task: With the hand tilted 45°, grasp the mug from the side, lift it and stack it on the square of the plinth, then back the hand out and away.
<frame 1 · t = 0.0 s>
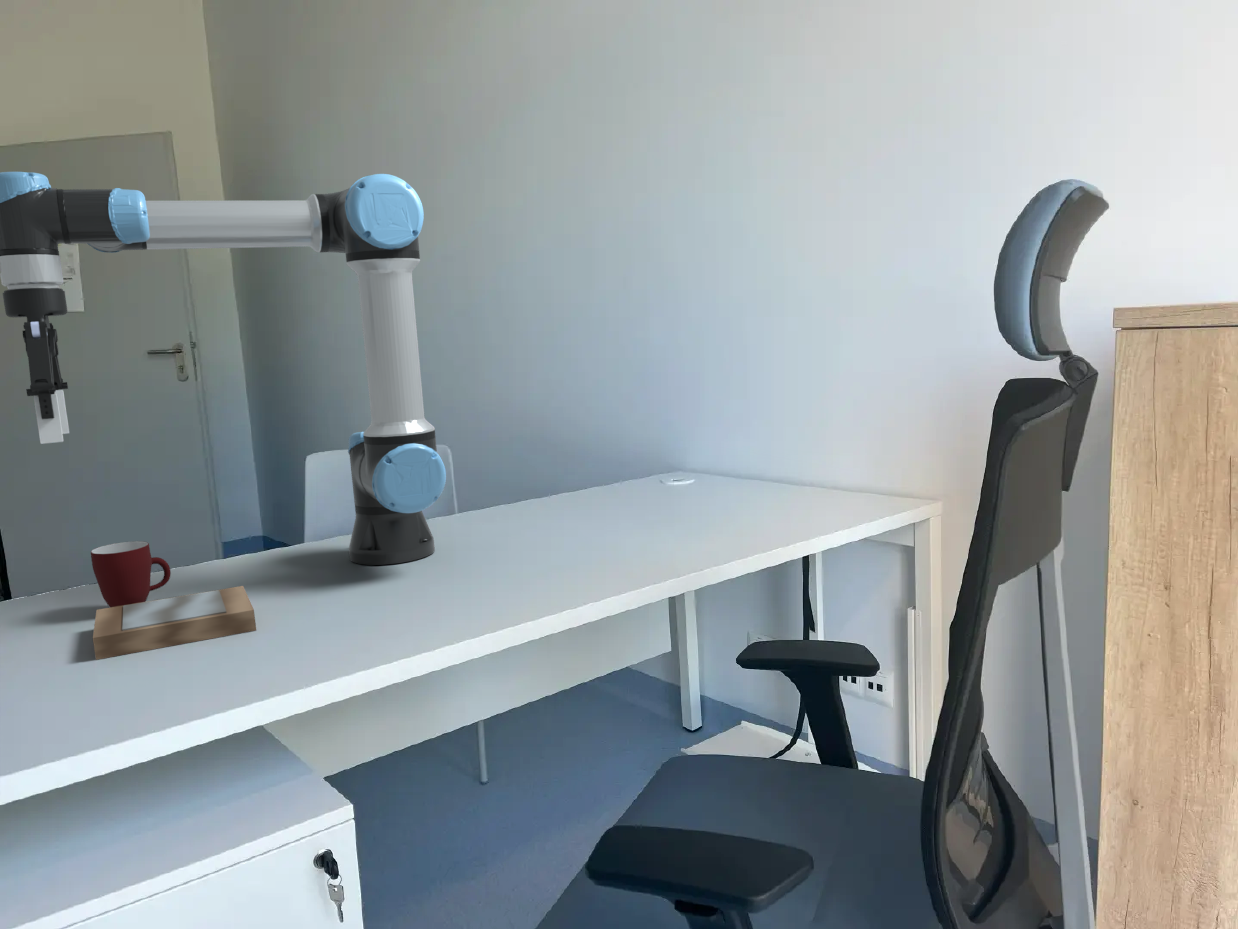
hand: (55, 438, 138), 28 cm above the table, tool pointing down, fingers open, 13 cm apart
mug: (137, 609, 151), on the table
plinth: (176, 630, 138), on the table
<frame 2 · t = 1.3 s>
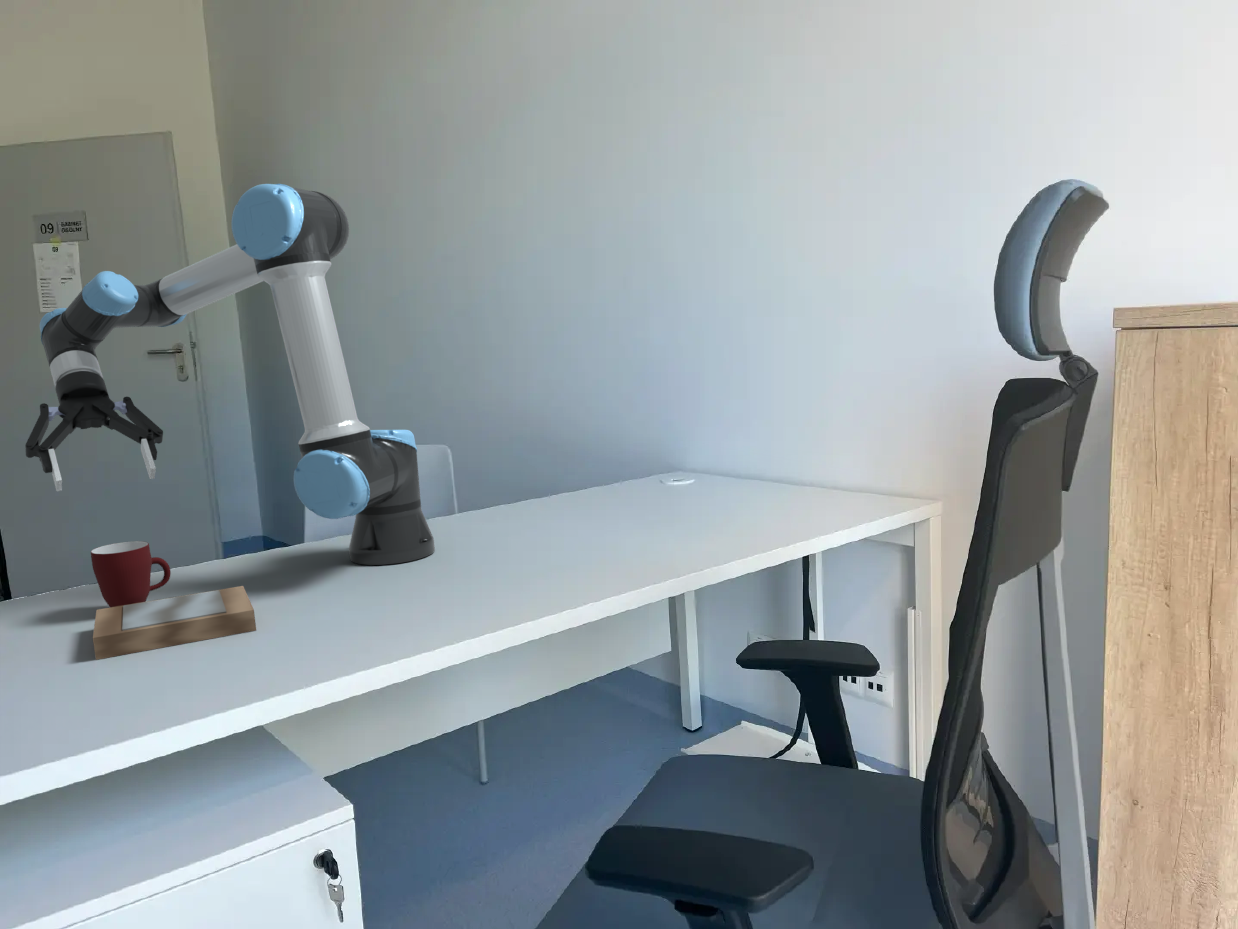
hand: (107, 479, 156), 19 cm above the table, tool tilted 45°, fingers open, 13 cm apart
nothing on the table moved.
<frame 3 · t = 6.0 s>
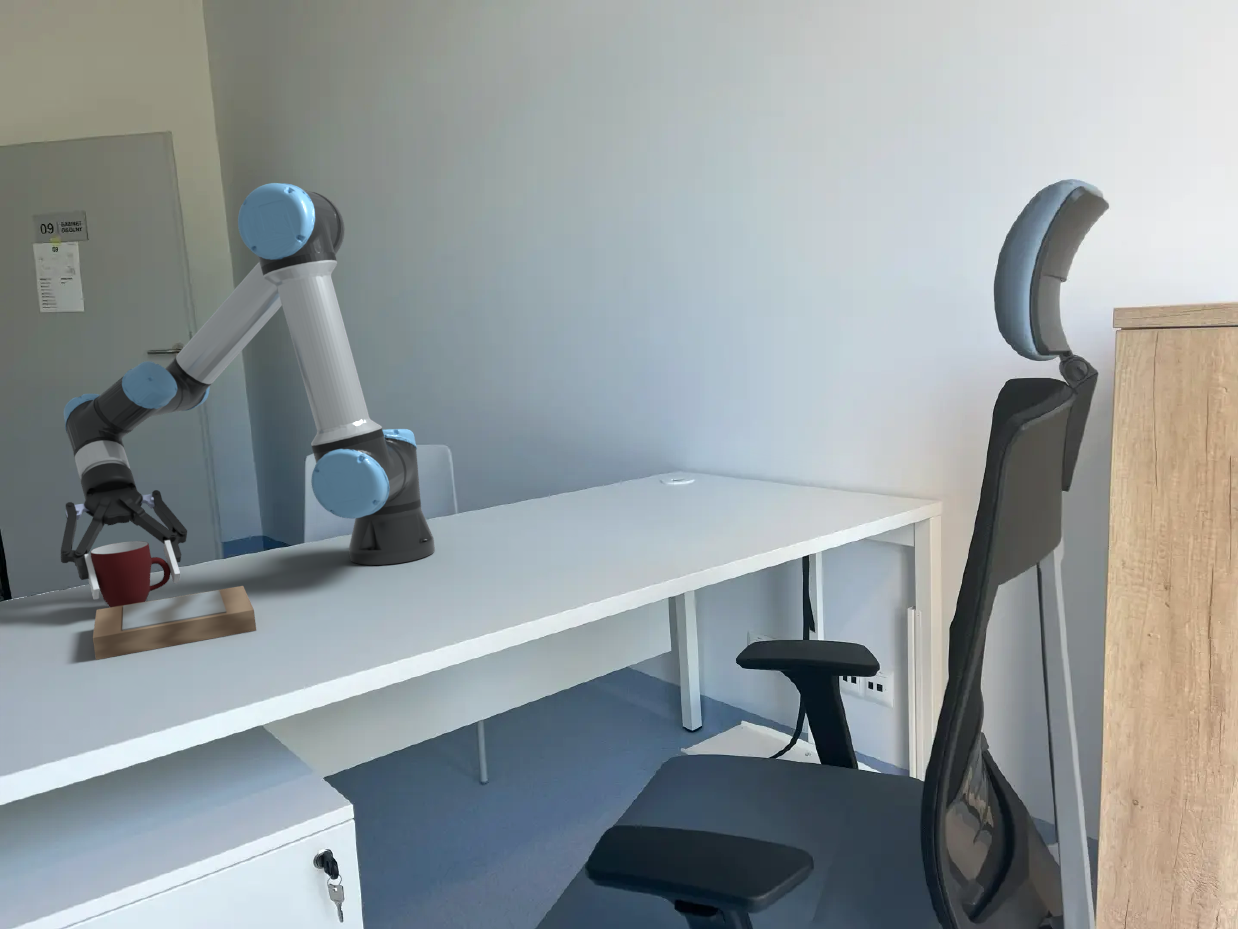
hand: (137, 586, 148), 4 cm above the table, tool tilted 45°, fingers closed on mug, 11 cm apart
mug: (137, 609, 151), on the table, touching gripper
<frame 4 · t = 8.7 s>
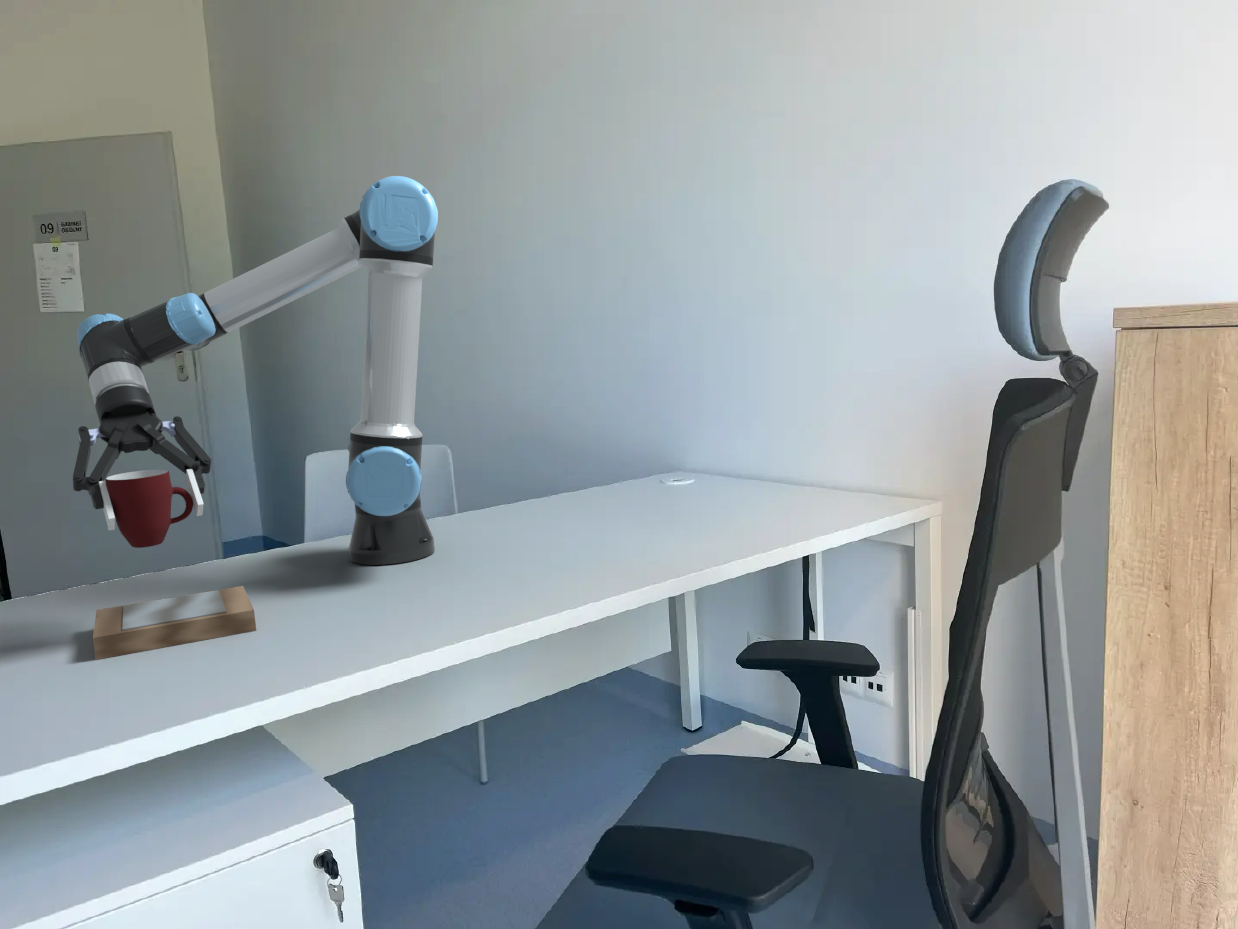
hand: (157, 517, 134), 17 cm above the table, tool tilted 45°, fingers closed on mug, 11 cm apart
mug: (157, 544, 137), point 13 cm above the table, touching gripper
when the fingers open (8 cm above the table, at t = 11.9 s): mug stays where it is, resting on plinth.
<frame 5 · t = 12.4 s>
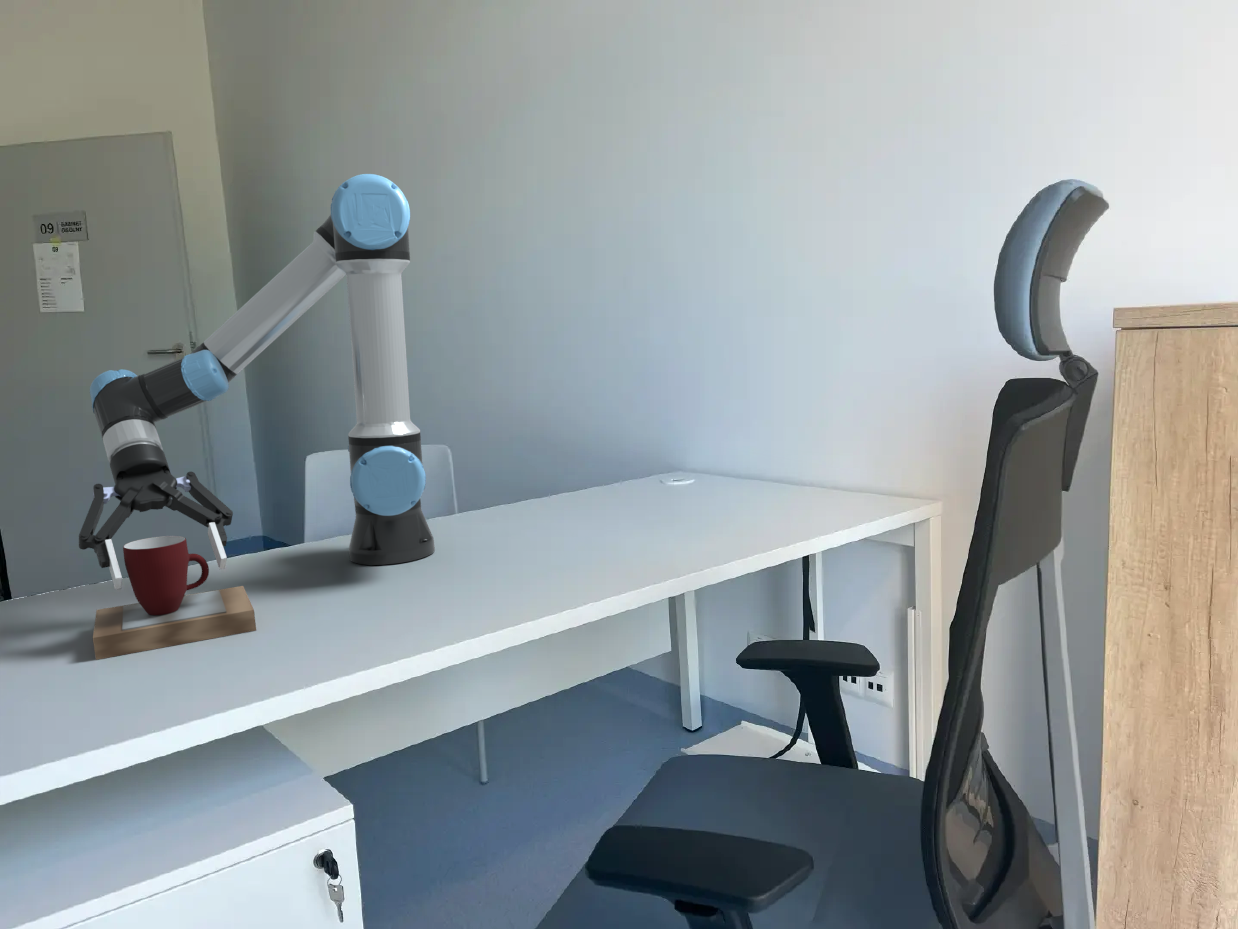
hand: (172, 573, 134), 9 cm above the table, tool tilted 45°, fingers open, 13 cm apart
mug: (172, 610, 137), point 3 cm above the table, touching plinth
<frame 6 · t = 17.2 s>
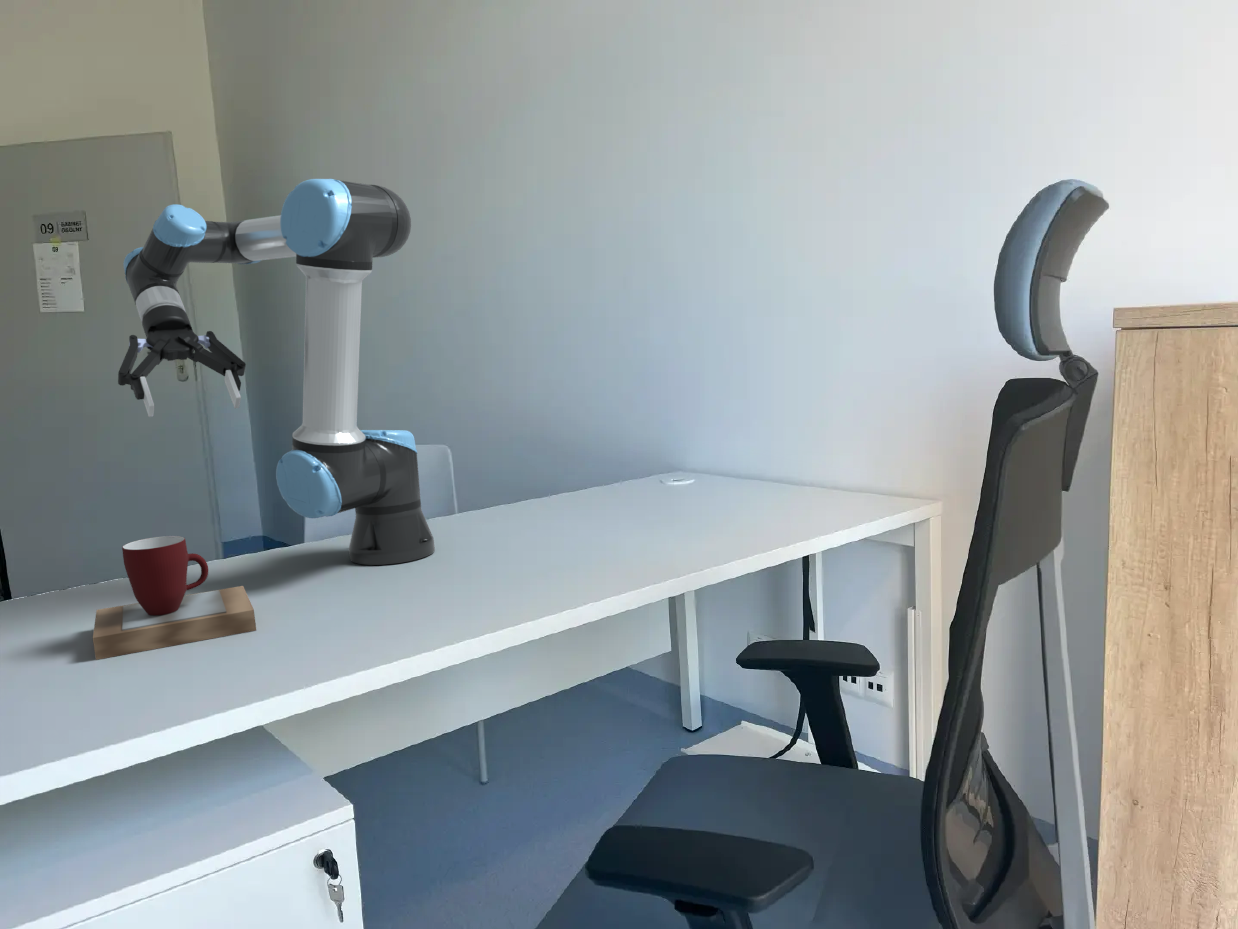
hand: (195, 407, 161), 30 cm above the table, tool tilted 45°, fingers open, 13 cm apart
nothing on the table moved.
at the end: mug inside the target area on the plinth (0.5 cm from its centre), point 3.0 cm above the plinth's base; mug tilted 0°; the gripper is holding nothing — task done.
